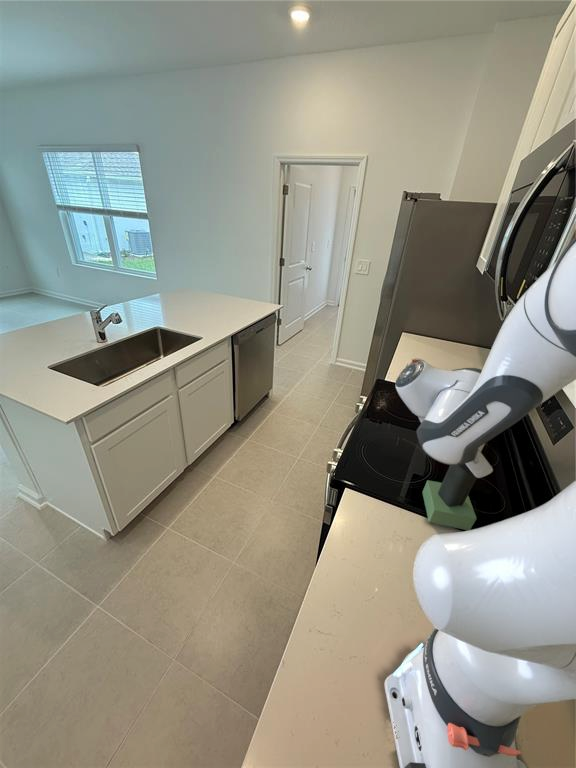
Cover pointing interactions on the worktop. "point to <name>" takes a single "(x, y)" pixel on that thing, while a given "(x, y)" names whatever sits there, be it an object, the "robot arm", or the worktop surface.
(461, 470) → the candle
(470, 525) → the green block
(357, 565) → the worktop surface
